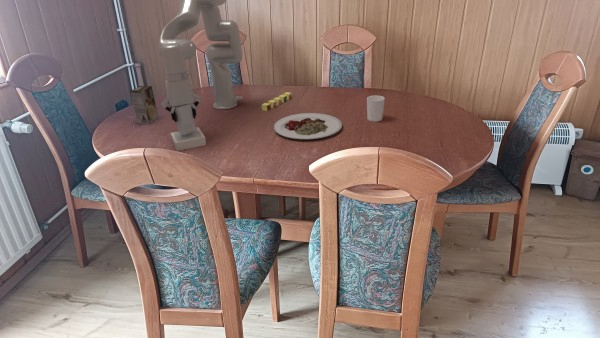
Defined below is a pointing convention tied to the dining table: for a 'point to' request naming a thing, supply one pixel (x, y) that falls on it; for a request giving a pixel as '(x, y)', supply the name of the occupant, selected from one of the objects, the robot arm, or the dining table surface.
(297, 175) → the dining table surface
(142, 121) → the coffee box
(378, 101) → the white cup
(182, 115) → the skincare box
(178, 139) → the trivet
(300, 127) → the plated food
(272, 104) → the yellow segmented block row
